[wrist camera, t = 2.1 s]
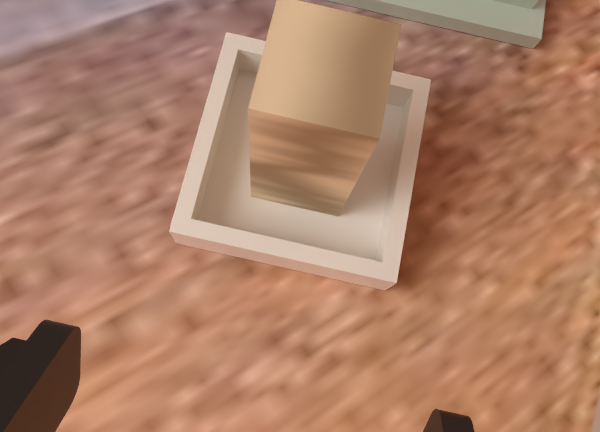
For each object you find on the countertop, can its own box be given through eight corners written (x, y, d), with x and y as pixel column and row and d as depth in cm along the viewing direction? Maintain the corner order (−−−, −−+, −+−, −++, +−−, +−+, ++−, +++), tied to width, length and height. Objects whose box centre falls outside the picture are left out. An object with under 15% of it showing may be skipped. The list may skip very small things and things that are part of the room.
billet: (250, 196, 29) (248, 108, 19) (271, 114, 30) (278, -8, 20) (338, 216, 29) (379, 138, 19) (355, 133, 30) (402, 20, 20)
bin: (176, 243, 28) (168, 231, 26) (228, 58, 31) (226, 32, 29) (384, 290, 28) (396, 283, 26) (417, 102, 31) (431, 79, 29)
